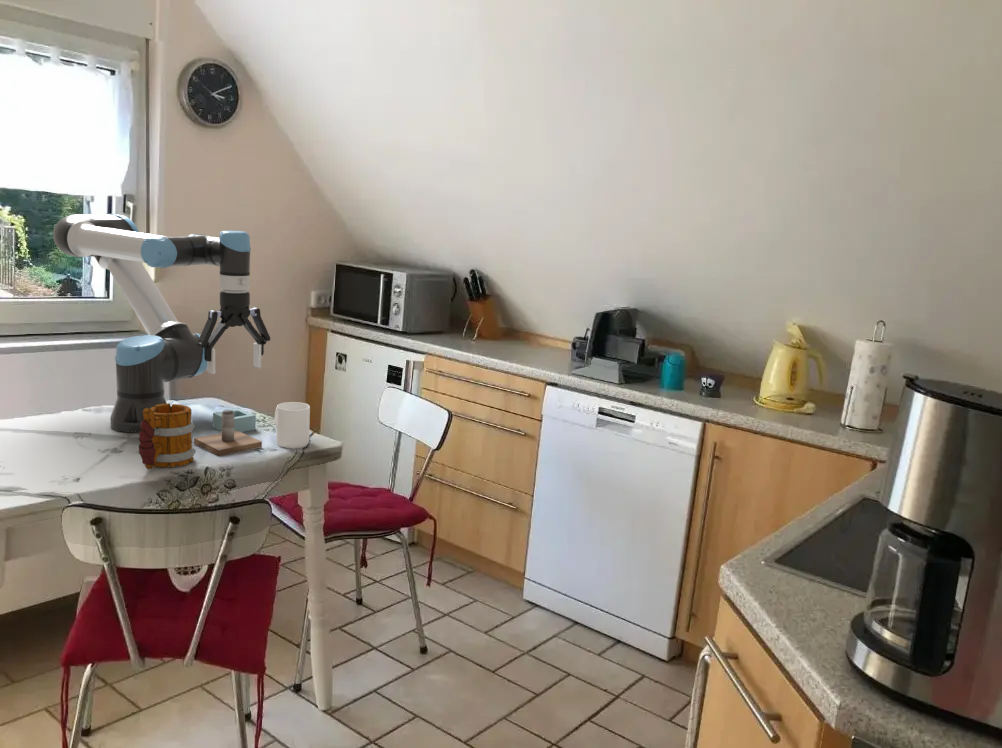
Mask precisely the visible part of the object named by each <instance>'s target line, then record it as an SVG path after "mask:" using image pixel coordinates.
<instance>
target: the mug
mask: <svg viewBox="0 0 1002 748" xmlns="http://www.w3.org/2000/svg"><path fill="white" fill-rule="evenodd" d="M143 417H144V419H143V420H142V422H141V425H140V429H141V430H142V431H140V433H139V434H138V435H139V436H138V441H139V444H138V454H139V455H140V458H141V462H142V464H144V465H145V468H146V469H147V470H148V469H149V470H152V469H154V468H164V469H167V468H169V467H170V468H176V467H177V466H178V468H179V467H183V465H184V466H187V465H189V464H190V463H192V462H194V456H195V454H196V452H197V451H196V449H195V446H194V445H193V443H192V431H193V430H194V429H195V424H194V423H193V420H192V409H191V407H190V406H187V405H183V404H178V403H177V404H176V403H172V404H171V403H167V404H159V405H155V406H153V407H151V408H145V409H144V410H143Z"/></svg>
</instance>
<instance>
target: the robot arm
mask: <svg viewBox="0 0 1002 748" xmlns="http://www.w3.org/2000/svg"><path fill="white" fill-rule="evenodd" d="M52 236H53V237H52V238H53V241H54V243H55V245H56V247H57V248H58V250H60V251H61V252H62V253H64V254H65V255H68V256H72V257H78V258H80V257H81V258H89V257H93V258H95V260H96V262H97V263H98V265H99V267H101V268H102V269H105V270H108V271H109V272H110V274H111V276H112V277H113V279H114V280H115V282H116V284H117V285H118V286H119V288H120V290H121V292H122V293H123V295H124V296H125V298H126V300H127V301H128V303H129V305H130V307H131V309H132V310H133V312H134V313H135V315H136V316H137V318H138V320H139V321H140V323H141V324H142V327H143V328H144V329H145V332H146V333H147V334H144V335H143V334H142V335H136V336H135V335H134V336H131V337H127V338H125V339H122V340H120V341H119V342H118V343H117V345H116V348H115V358H114V360H115V372H116V399H115V402H114V405H113V408H112V411H111V414H110V418H109V421H110V425H109V426H110V428H112V429H113V430H114V431H119V432H123V433H133V434H135V433H136V434H137V433H139V434H140V431H142V430H141V429H140V425H141V422H142V420H143V419H144V417H143V410H144V409H145V408H151V407H153V406H155V405H159V404H168V402H167V399H166V397H165V383H169V382H173V381H178V380H183V379H191V378H193V377H195V376H199V375H202V374H203V373H204V372H206V371H207V373H208V374H211V375H215V374H216V349H215V348H214V346H215V345H216V343H217V342H218V341H219V339H221V337H222V336H223V334H224V332H226V331H227V329H229V328H235V327H243V328H244V329H245V330H246V331H247V332H248V333H249V335H250V336H251V337H252V338H253V340H254V341H255V342H253V344H252V345H253V348H252V349H253V350H252V352H253V353H252V357H253V359H252V360H253V361H252V363H253V364H252V365H253V368H256V369H262V356H263V355H264V354H265V353H264V352H265V347H264V345H266V344H267V342H270V341H271V336H270V334H269V331H268V330H267V327H266V325H265V323H264V320H263V318H262V317H261V309H260V308H259V307H255V306H252V307H251V308H250V305H251V300H250V299H251V293H250V292H249V290H250V289H251V287H250V284H251V283H250V282H251V281H250V280H251V279H250V278H251V276H250V275H251V272H250V271H251V270H250V269H251V250H252V249H251V239H250V234H249V233H248V232H247V231H243V230H222V231H220V232H219V236H213V235H205V234H198V233H197V234H195V233H194V234H193V233H191V234H189V235H183V236H182V235H181V236H180V235H179V236H173V235H171V236H169V235H168V236H167V235H160V234H152V233H146V232H145V233H144V232H139V229H138V227H137V225H136V224H135V223H134V221H133V220H132V219H130V218H129V217H127V216H126V215H122V214H115V213H105V214H97V213H95V214H92V213H91V214H90V213H87V214H85V213H84V214H83V213H74V214H70V215H67V216H64V217H62V218H61V219H59V220H58V222H57V223H56V224H55V226H54V229H53V233H52ZM143 263H144V264H146V265H147V266H148V267H151V268H160V269H161V268H162V269H165V268H170V267H183V266H184V267H186V266H201V265H202V266H203V265H205V266H206V265H207V266H209V265H210V266H217V267H219V289H220V292H219V306H220V309H219V310H217V311H216V310H213V309H210V310H208V315H207V320H206V322H205V325H204V326H203V329H202V331H201V333H200V334H199V333H197V332H196V333H193V332H192V330H191V329H190V328H189V326H188V324H186V323H185V322H180V321H178V319H177V317H176V316H175V314H174V313H173V311H172V309H171V307H170V306H169V304H168V302H167V301H166V299H165V298H164V296H163V295H162V293H161V291H160V290H159V287H158V286H157V285H156V283H155V281H154V280H153V278H152V277H151V274H149V271H148V270H147V268H146V267H145V265H144V264H143ZM250 316H251V317H252V319H253V322H254V324H255V326H256V328H255V327H254V325H253V324H252V322H251V320H250V319H249V317H250ZM219 318H220V319H219ZM218 319H219V321H218ZM217 321H218V323H217ZM216 324H217V326H216ZM257 330H258V331H257Z"/></svg>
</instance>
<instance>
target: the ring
mask: <svg viewBox="0 0 1002 748" xmlns="http://www.w3.org/2000/svg"><path fill="white" fill-rule="evenodd" d="M231 410H232V411H233V412H234V431H235V430H237V431H239V432H241V433H244V432H249V431H255V430H256V426H257V425H256V419H257V418H256V414H254V413H251V412H249V411H246V410H244V409H242V408H236V409H235V408H234V409H231ZM223 411H224V410H223ZM223 411H217V412H216V411H215V412H213V413H212V428H214V429H216V430H219V431H220V432H222V413H223Z"/></svg>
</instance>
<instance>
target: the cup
mask: <svg viewBox="0 0 1002 748" xmlns="http://www.w3.org/2000/svg"><path fill="white" fill-rule="evenodd" d="M310 413H311V406H310V405H309V404H308V403H306V402H299V401H288V402H281V403H278V404H277V405H276V408H275V412H274V417H273V418H274V419H273V420H274V427H275V429H276V436H275V437H276V444H277V445H278V446H279V447H281V448H285V449H299V448H300V447H301V448H304V447H306V446H308V445H307V444H309V442H310V427H311V426H310V421H311V420H310V419H311V418H310V417H311V416H310V415H311V414H310ZM303 446H304V447H303ZM301 448H300V449H301Z"/></svg>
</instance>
